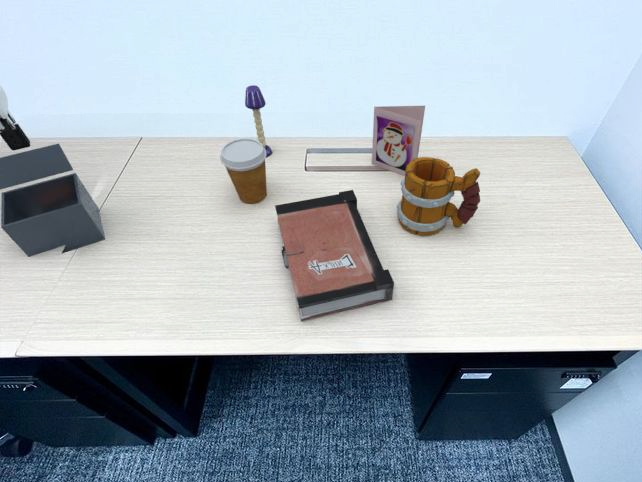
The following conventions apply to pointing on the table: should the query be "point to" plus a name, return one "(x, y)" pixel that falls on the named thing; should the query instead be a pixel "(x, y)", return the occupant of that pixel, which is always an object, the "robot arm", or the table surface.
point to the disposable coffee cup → (246, 168)
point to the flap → (32, 165)
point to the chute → (51, 216)
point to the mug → (435, 196)
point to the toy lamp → (257, 112)
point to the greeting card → (396, 136)
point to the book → (331, 256)
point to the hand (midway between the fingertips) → (21, 146)
